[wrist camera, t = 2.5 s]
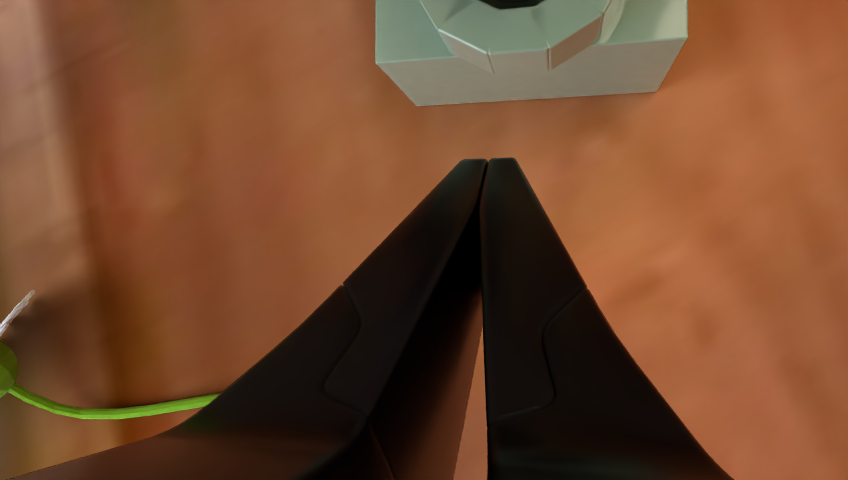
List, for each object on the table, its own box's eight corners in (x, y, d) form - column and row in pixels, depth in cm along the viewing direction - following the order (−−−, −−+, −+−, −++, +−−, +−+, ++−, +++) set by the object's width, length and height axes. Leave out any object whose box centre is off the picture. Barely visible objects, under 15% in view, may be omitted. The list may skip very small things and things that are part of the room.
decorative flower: (147, 388, 17) (-214, 441, 20) (249, 488, 21) (-68, 519, 24) (228, 221, 23) (-63, 285, 26) (295, 324, 27) (35, 367, 30)
